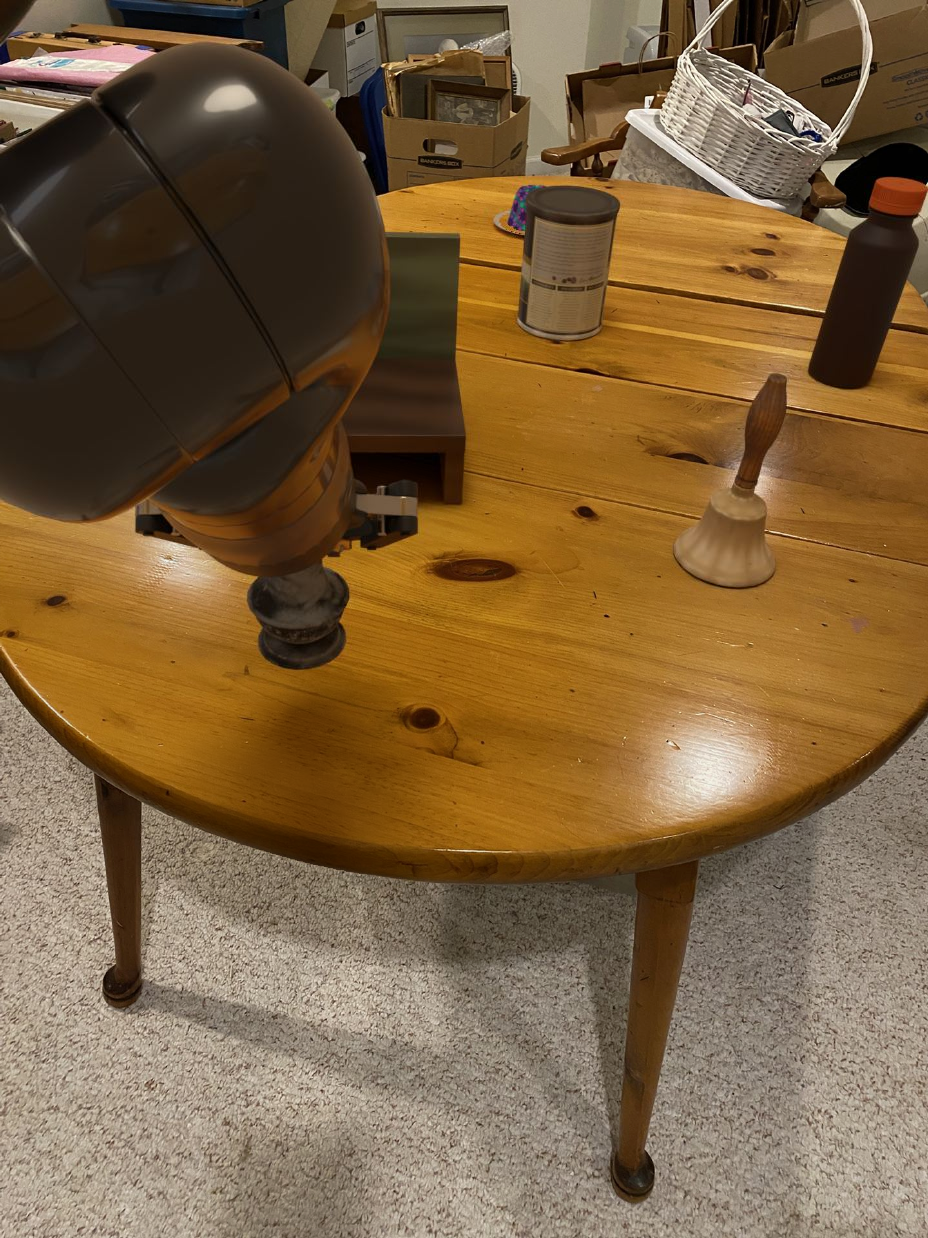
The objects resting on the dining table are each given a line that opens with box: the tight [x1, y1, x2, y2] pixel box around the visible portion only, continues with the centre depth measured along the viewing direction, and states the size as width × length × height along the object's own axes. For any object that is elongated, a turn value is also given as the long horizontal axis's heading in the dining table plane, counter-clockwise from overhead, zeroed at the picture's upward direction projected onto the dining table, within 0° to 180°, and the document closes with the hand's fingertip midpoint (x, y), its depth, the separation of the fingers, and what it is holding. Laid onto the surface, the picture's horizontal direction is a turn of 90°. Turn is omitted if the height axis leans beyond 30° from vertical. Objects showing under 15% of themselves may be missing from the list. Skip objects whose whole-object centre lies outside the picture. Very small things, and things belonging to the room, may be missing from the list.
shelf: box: [341, 231, 467, 505], centre depth 79 cm, size 15×20×18 cm
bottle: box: [807, 176, 928, 389], centre depth 96 cm, size 7×7×20 cm
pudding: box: [493, 184, 547, 236], centre depth 134 cm, size 12×12×5 cm
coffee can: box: [516, 184, 621, 342], centre depth 105 cm, size 10×10×14 cm
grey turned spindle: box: [246, 559, 351, 671], centre depth 52 cm, size 6×6×12 cm
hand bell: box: [672, 372, 788, 588], centre depth 71 cm, size 8×8×16 cm
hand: (297, 539), depth 53 cm, fingers closed on grey turned spindle, 3 cm apart
